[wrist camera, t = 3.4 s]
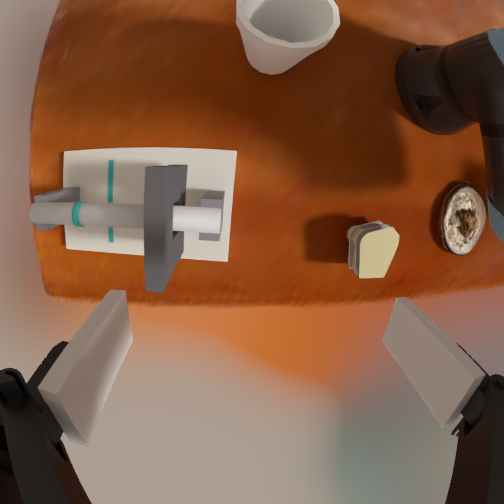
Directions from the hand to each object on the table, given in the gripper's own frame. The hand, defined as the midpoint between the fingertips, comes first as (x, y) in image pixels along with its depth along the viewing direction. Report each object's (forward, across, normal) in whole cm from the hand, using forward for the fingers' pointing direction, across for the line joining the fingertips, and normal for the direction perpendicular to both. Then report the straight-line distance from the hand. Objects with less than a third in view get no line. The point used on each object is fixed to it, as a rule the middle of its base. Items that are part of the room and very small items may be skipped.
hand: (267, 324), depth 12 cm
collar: (+20, -8, +1) cm, 22 cm away
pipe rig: (+25, -14, +2) cm, 28 cm away
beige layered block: (+25, +17, -2) cm, 30 cm away
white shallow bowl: (+25, +37, +3) cm, 45 cm away
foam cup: (+25, +2, +22) cm, 33 cm away
